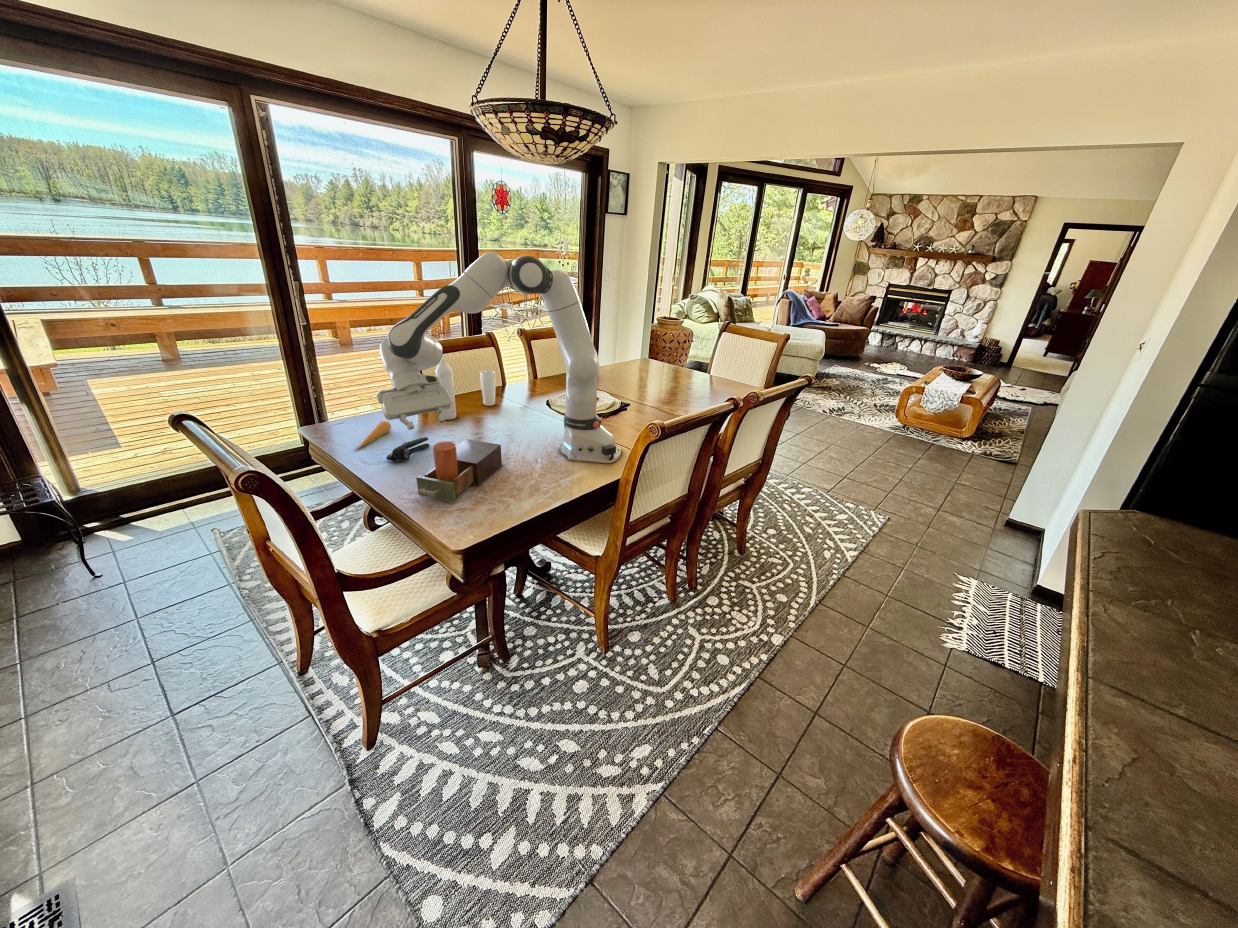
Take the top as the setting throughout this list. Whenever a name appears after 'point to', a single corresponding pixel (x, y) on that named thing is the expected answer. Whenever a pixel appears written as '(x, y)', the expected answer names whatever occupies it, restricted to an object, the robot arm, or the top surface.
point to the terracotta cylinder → (445, 461)
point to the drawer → (446, 483)
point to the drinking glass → (488, 387)
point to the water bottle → (447, 386)
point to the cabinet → (480, 458)
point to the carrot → (377, 432)
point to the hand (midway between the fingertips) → (427, 425)
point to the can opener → (407, 450)
